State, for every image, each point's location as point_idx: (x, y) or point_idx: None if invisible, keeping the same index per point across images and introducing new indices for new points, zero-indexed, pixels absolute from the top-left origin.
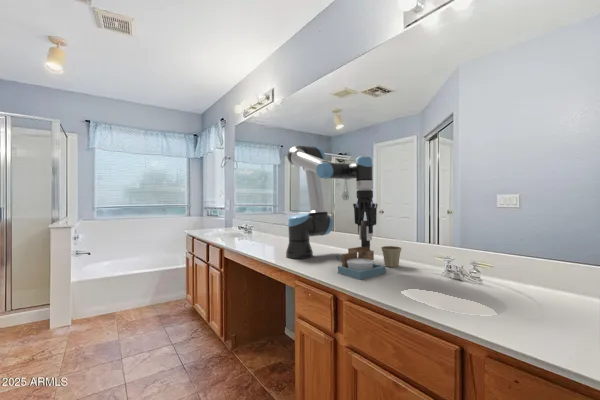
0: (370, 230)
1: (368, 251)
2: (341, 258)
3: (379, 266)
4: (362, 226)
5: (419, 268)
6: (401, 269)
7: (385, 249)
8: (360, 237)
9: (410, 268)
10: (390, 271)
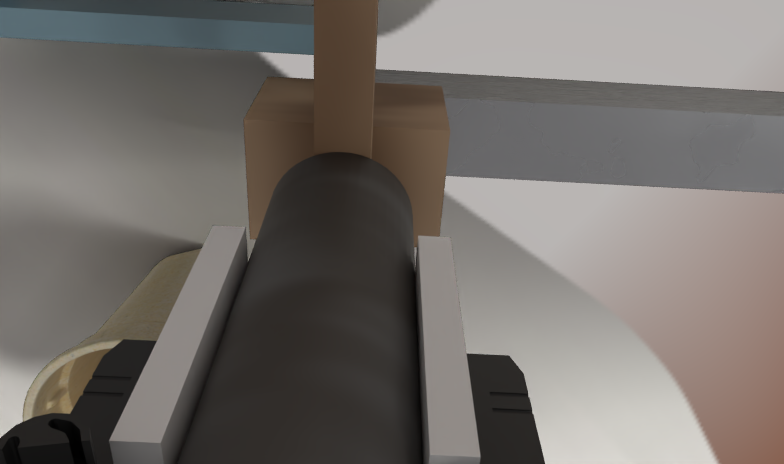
0: (94, 387)
1: (263, 156)
2: (768, 102)
3: (21, 5)
4: (291, 411)
5: (3, 381)
6: (50, 256)
7: (129, 335)
8: (419, 259)
9: (40, 335)
10: (38, 119)
